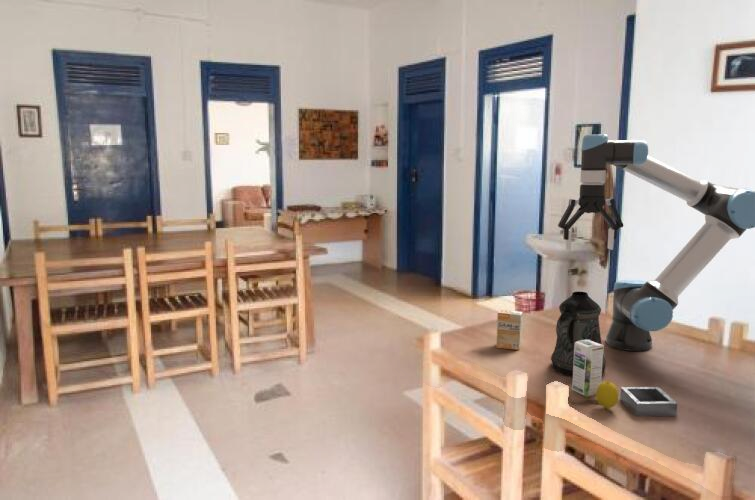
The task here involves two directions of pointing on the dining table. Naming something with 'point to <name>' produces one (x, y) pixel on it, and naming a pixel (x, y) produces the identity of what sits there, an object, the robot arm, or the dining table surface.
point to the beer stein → (575, 330)
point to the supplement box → (509, 329)
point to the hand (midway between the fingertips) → (589, 249)
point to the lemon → (607, 394)
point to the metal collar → (658, 408)
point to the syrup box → (587, 367)
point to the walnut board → (580, 397)
